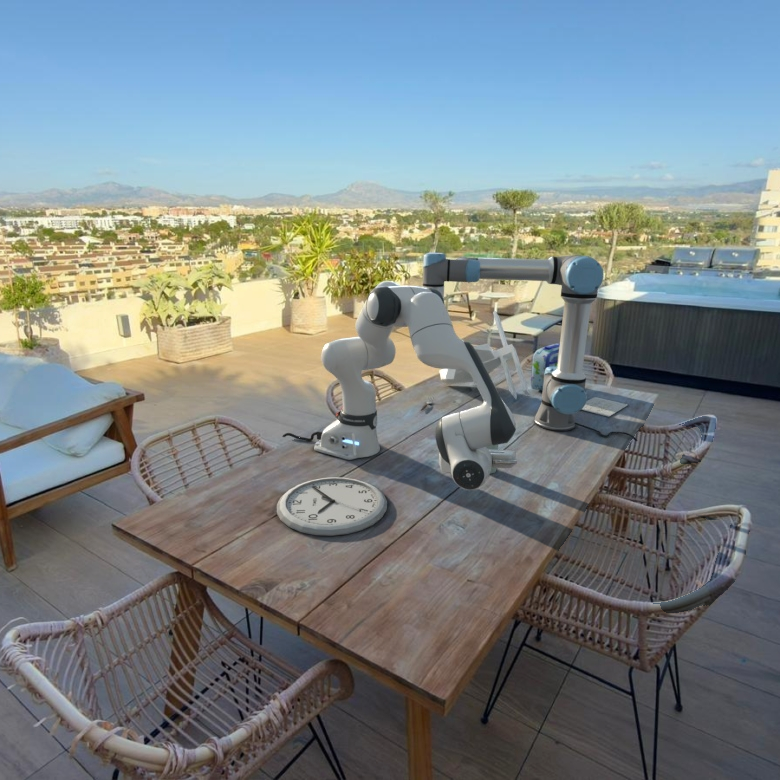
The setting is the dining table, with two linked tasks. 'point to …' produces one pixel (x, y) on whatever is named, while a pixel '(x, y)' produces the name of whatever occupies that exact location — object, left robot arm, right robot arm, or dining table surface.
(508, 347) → the white plastic object
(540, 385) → the lunch box
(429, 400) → the fork
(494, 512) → the dining table surface
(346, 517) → the wall clock
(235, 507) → the dining table surface
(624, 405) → the invitation card
